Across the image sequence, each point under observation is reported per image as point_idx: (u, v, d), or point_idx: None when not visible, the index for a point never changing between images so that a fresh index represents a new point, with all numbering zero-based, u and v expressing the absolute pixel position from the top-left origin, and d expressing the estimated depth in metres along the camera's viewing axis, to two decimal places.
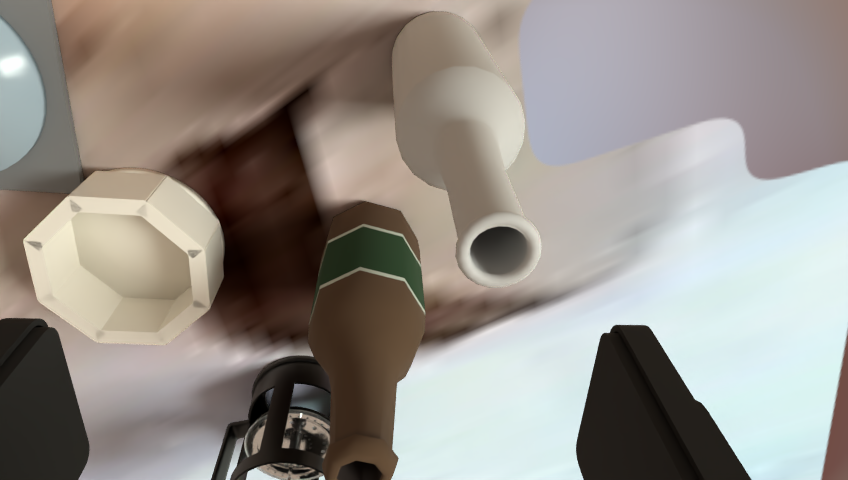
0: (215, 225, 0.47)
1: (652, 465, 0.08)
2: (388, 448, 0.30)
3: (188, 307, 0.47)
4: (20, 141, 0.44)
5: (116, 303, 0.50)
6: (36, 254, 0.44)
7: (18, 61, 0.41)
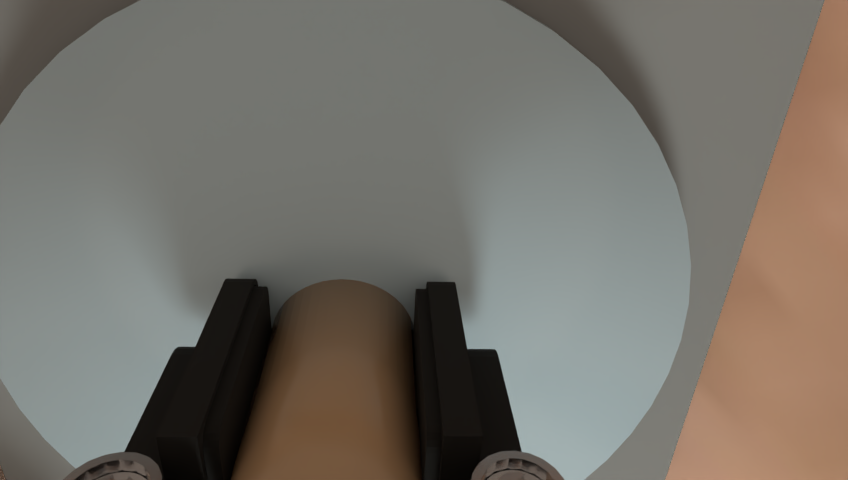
0: None
1: (421, 399, 0.09)
2: None
3: None
4: None
5: None
6: None
7: None
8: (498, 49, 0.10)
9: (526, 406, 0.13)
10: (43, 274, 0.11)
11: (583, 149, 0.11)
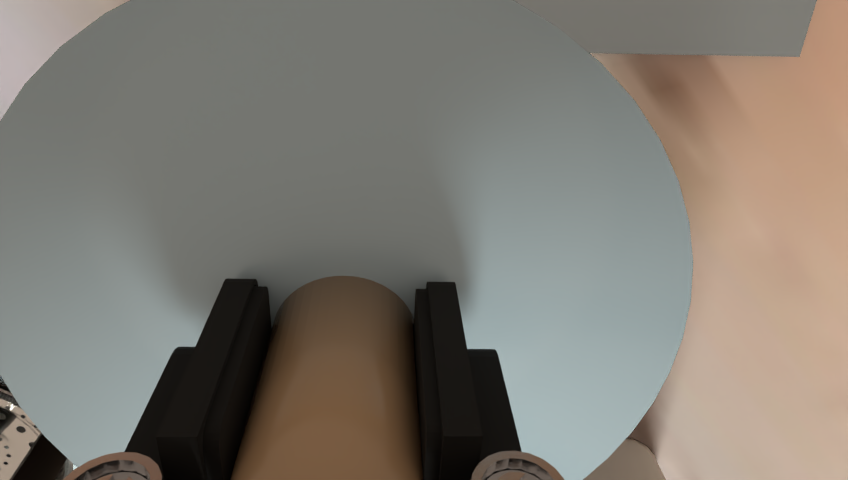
0: None
1: (420, 399, 0.09)
2: None
3: None
4: None
5: None
6: None
7: None
8: (500, 44, 0.10)
9: (527, 403, 0.13)
10: (43, 270, 0.11)
11: (585, 145, 0.10)
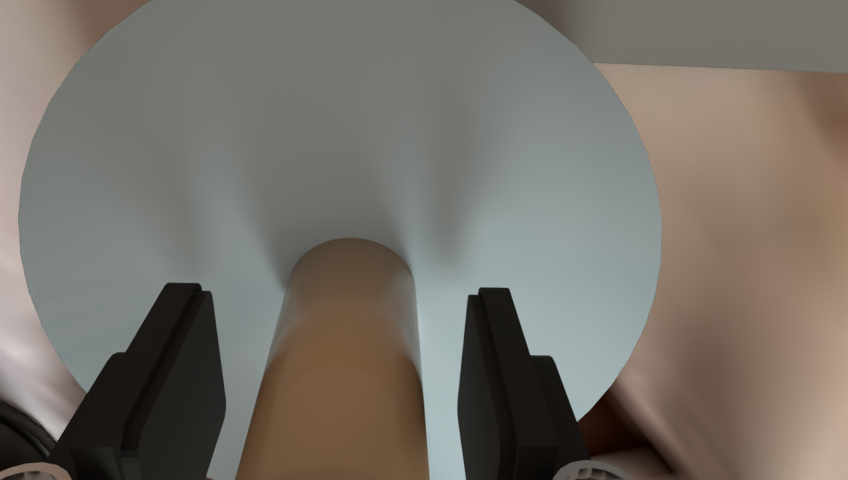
0: None
1: (484, 407, 0.09)
2: None
3: None
4: None
5: None
6: None
7: (429, 479, 0.16)
8: (488, 29, 0.11)
9: None
10: (85, 232, 0.13)
11: (564, 119, 0.12)
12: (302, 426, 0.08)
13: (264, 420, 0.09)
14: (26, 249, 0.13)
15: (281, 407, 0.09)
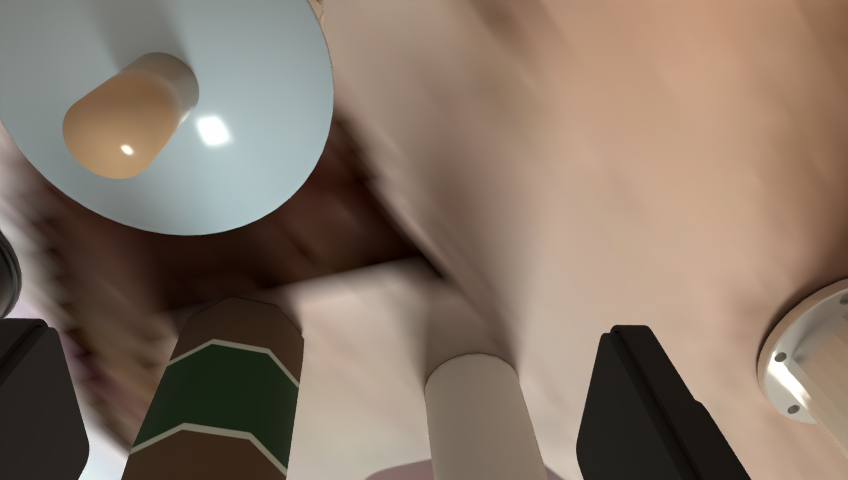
0: None
1: (652, 465, 0.08)
2: None
3: None
4: (90, 193, 0.27)
5: None
6: None
7: (226, 217, 0.28)
8: None
9: (263, 132, 0.26)
10: (14, 45, 0.24)
11: None
12: (97, 90, 0.20)
13: None
14: None
15: (93, 90, 0.20)
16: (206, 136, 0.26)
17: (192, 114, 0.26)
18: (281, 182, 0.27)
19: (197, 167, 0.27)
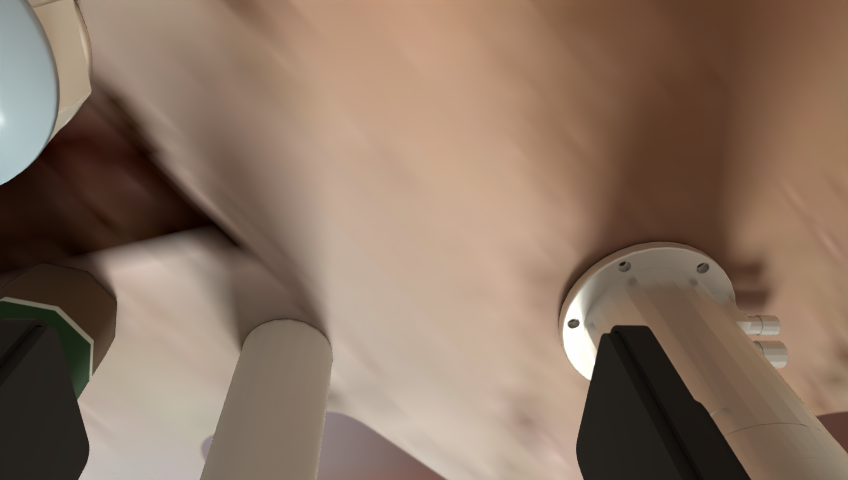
0: None
1: (652, 465, 0.08)
2: None
3: None
4: None
5: None
6: None
7: None
8: None
9: None
10: None
11: None
12: None
13: None
14: None
15: None
16: None
17: None
18: (20, 147, 0.31)
19: None
